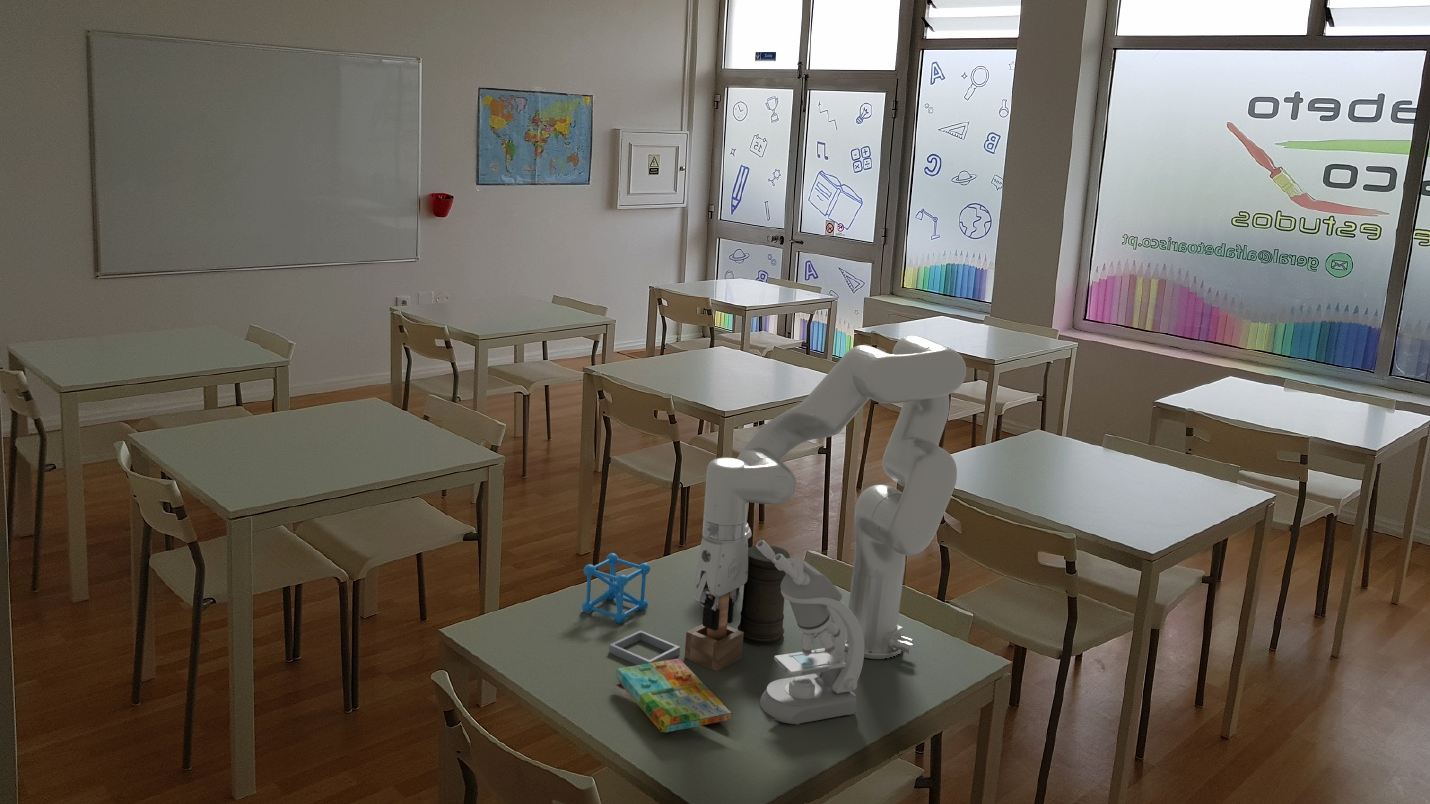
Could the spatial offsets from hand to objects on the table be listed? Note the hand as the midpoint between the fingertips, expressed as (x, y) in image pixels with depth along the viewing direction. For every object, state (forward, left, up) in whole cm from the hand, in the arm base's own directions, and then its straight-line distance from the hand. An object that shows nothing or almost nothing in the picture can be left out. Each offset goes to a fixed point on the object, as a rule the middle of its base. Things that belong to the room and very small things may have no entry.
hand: (717, 623), depth 203 cm
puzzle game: (-5, +19, -8) cm, 21 cm away
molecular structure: (+27, -3, -8) cm, 28 cm away
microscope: (-20, +3, -8) cm, 22 cm away
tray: (+10, +8, -8) cm, 15 cm away
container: (-1, -13, -8) cm, 15 cm away
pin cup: (0, 0, -8) cm, 8 cm away
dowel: (0, 0, -5) cm, 5 cm away
